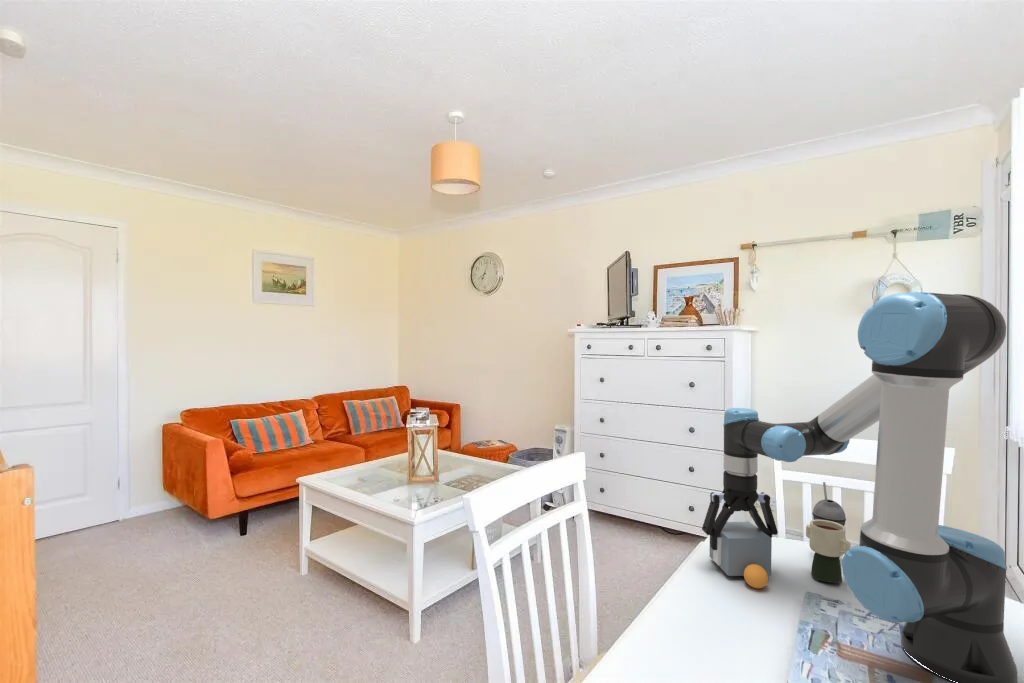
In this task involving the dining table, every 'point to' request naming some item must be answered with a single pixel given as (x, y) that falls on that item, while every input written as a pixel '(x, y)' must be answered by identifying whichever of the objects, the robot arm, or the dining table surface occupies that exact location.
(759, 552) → the grey rectangular box
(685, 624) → the dining table surface
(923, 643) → the robot arm
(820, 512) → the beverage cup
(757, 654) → the dining table surface
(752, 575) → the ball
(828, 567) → the character mug
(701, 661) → the dining table surface
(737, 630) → the dining table surface
